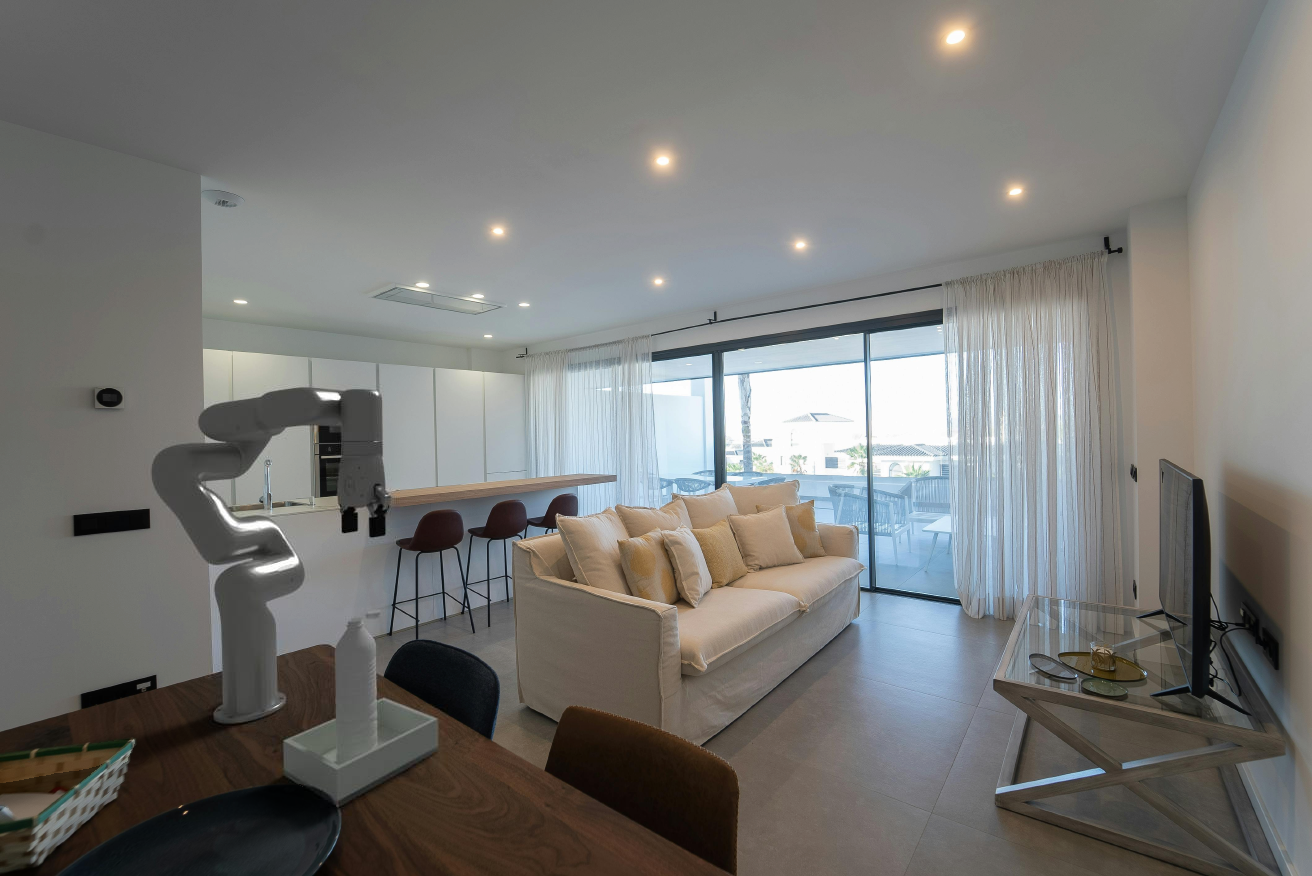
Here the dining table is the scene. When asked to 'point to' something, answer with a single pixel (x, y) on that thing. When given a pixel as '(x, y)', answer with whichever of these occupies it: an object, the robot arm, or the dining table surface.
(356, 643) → the water bottle
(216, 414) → the robot arm
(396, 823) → the dining table surface
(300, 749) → the bin
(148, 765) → the dining table surface
